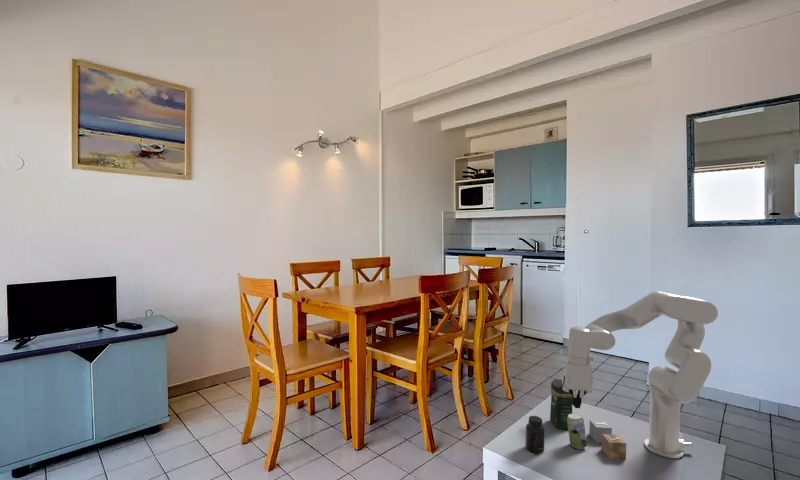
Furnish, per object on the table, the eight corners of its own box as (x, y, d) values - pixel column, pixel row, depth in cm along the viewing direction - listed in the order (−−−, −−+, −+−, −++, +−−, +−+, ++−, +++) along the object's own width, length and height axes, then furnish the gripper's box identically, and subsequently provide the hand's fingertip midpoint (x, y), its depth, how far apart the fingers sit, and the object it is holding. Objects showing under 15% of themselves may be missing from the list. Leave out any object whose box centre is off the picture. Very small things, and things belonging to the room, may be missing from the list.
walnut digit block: (617, 450, 147) (618, 434, 147) (625, 459, 141) (626, 442, 141) (601, 449, 148) (602, 433, 147) (609, 458, 142) (609, 441, 141)
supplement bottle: (521, 445, 149) (522, 414, 149) (537, 443, 150) (538, 413, 150) (531, 455, 142) (532, 423, 142) (548, 453, 144) (548, 422, 143)
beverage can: (588, 452, 145) (589, 420, 145) (568, 449, 147) (569, 418, 147) (584, 443, 152) (585, 412, 151) (564, 440, 153) (565, 410, 153)
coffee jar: (575, 430, 161) (576, 386, 161) (556, 430, 161) (557, 386, 161) (565, 419, 171) (566, 377, 171) (547, 418, 171) (548, 377, 171)
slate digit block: (604, 435, 158) (604, 420, 158) (611, 443, 152) (611, 427, 152) (589, 434, 159) (589, 419, 158) (595, 442, 153) (596, 426, 152)
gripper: (594, 357, 152) (592, 403, 152) (555, 355, 153) (553, 401, 153) (603, 364, 144) (600, 412, 145) (562, 361, 145) (559, 409, 146)
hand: (576, 406), depth 149 cm, fingers closed
